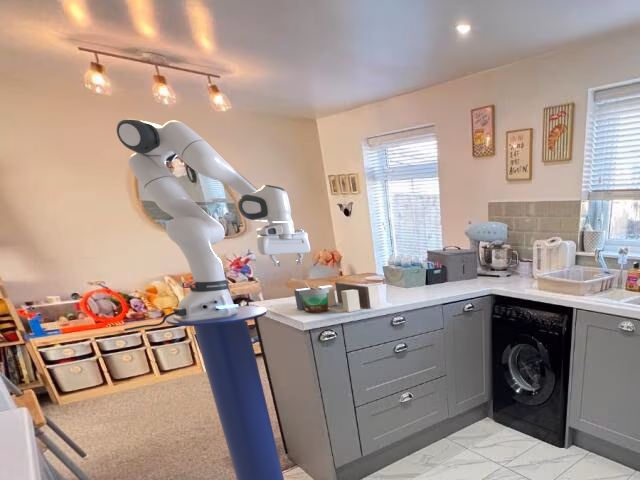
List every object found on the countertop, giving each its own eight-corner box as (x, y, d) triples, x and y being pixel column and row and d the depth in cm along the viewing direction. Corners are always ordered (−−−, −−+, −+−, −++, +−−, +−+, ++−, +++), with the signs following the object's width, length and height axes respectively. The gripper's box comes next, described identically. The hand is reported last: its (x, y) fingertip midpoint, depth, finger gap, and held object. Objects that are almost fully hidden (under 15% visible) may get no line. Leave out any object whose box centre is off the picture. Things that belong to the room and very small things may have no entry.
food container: (304, 314, 180) (300, 291, 176) (302, 311, 185) (298, 289, 181) (333, 311, 186) (330, 289, 182) (331, 308, 191) (328, 287, 187)
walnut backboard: (367, 308, 193) (365, 287, 189) (338, 302, 206) (335, 282, 202) (370, 308, 194) (368, 286, 190) (340, 302, 207) (337, 282, 203)
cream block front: (349, 312, 186) (346, 291, 182) (343, 310, 188) (340, 290, 184) (360, 309, 190) (357, 290, 187) (355, 308, 192) (352, 289, 189)
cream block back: (325, 306, 196) (322, 287, 192) (320, 306, 198) (317, 287, 195) (336, 305, 200) (333, 286, 197) (331, 304, 202) (328, 285, 199)
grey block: (302, 310, 188) (298, 290, 184) (297, 309, 190) (293, 289, 187) (314, 308, 192) (311, 289, 189) (309, 307, 194) (306, 288, 191)
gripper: (301, 229, 176) (307, 263, 181) (252, 229, 160) (259, 266, 165) (310, 229, 172) (315, 263, 178) (260, 230, 156) (268, 267, 162)
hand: (288, 265), depth 171 cm, fingers open, 8 cm apart
